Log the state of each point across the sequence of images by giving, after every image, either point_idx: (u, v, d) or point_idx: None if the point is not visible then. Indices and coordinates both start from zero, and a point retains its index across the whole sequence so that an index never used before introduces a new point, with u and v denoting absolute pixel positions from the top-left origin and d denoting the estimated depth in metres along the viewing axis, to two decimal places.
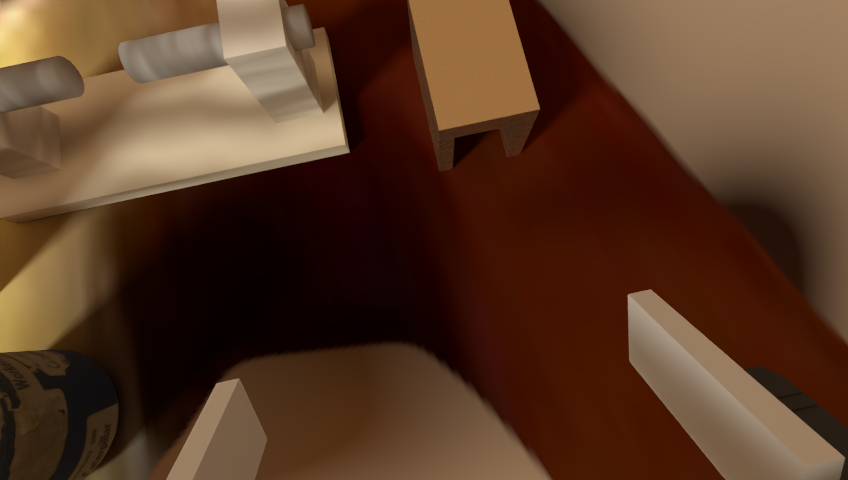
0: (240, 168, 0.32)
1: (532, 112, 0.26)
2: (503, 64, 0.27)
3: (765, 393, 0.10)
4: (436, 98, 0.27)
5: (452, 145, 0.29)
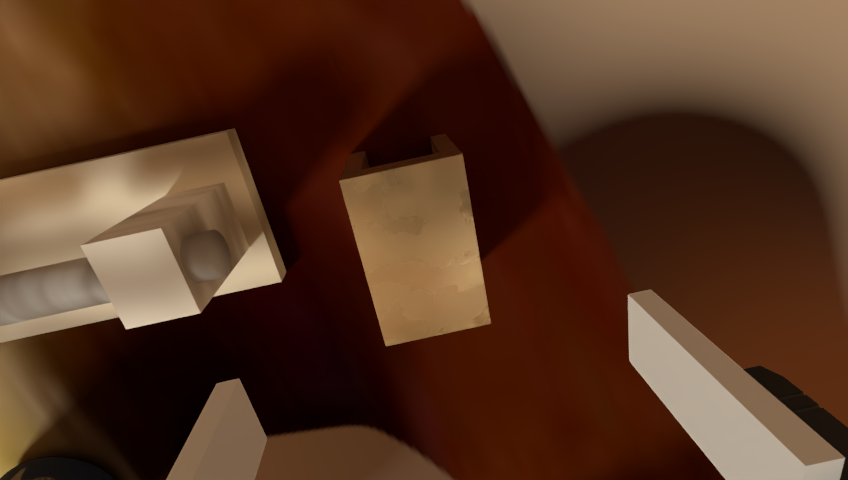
0: None
1: (482, 323, 0.25)
2: (456, 277, 0.24)
3: (765, 393, 0.10)
4: (382, 314, 0.24)
5: None
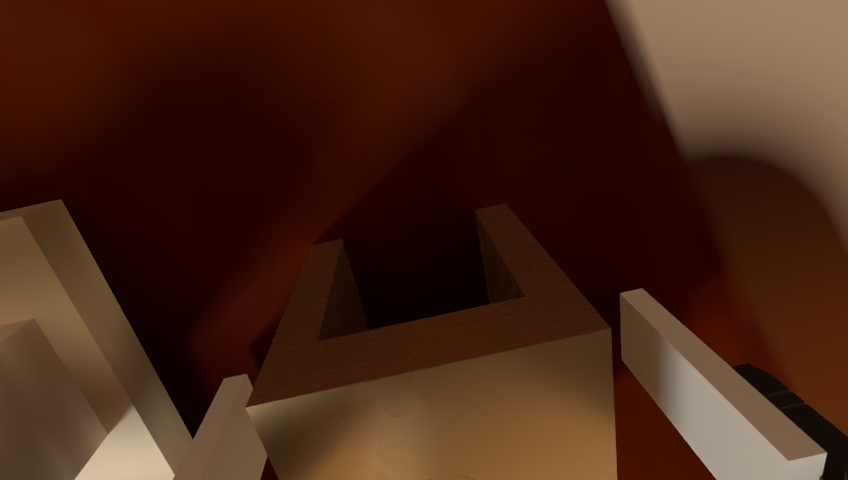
0: None
1: None
2: None
3: (751, 390, 0.10)
4: None
5: None
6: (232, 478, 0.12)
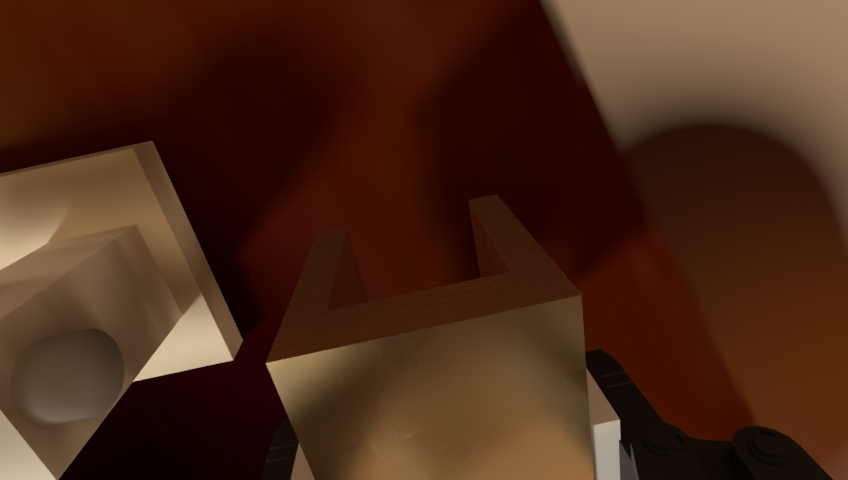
0: None
1: None
2: None
3: (586, 370, 0.12)
4: None
5: None
6: None
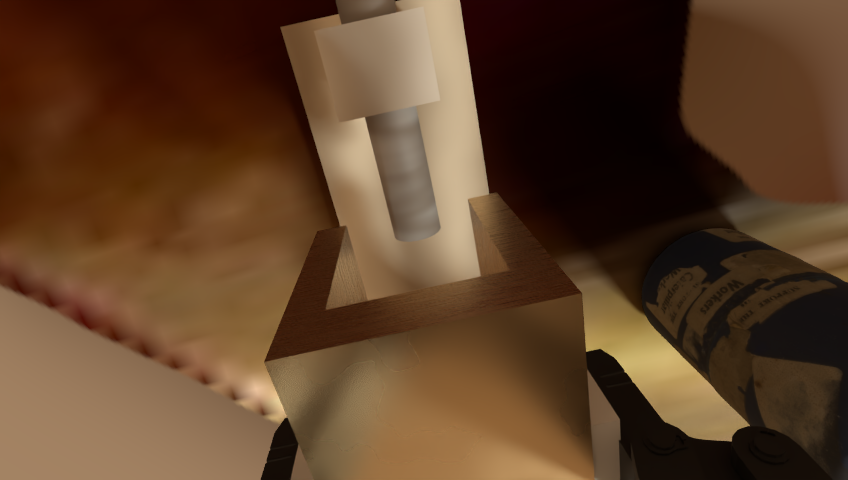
0: None
1: None
2: None
3: None
4: None
5: None
6: None
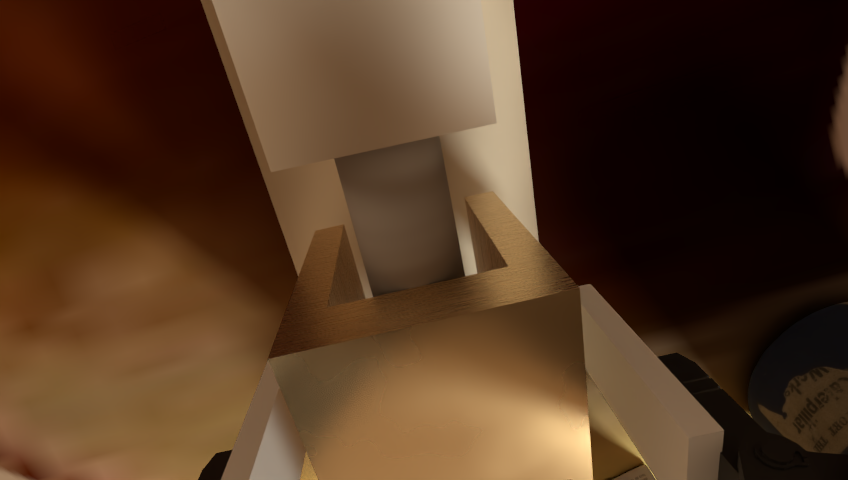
0: None
1: None
2: None
3: (671, 376, 0.11)
4: None
5: None
6: (286, 442, 0.13)
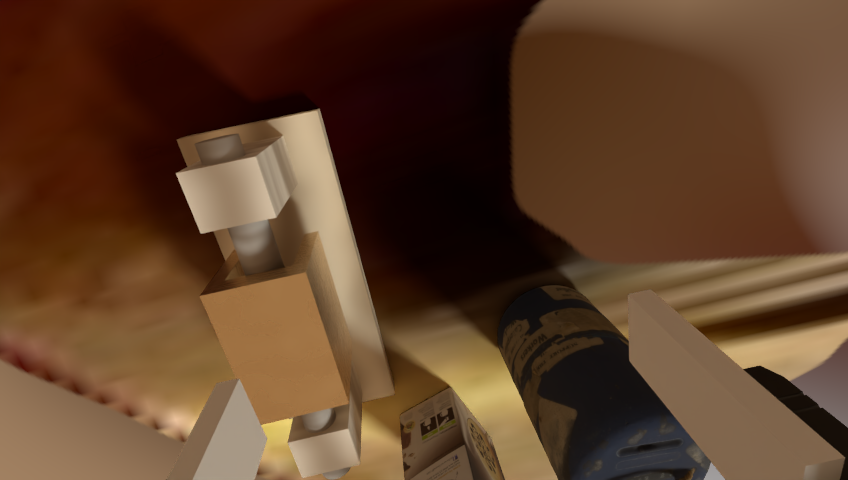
0: (346, 214, 0.34)
1: (342, 403, 0.29)
2: (313, 368, 0.28)
3: (764, 393, 0.10)
4: (250, 400, 0.28)
5: None
6: None
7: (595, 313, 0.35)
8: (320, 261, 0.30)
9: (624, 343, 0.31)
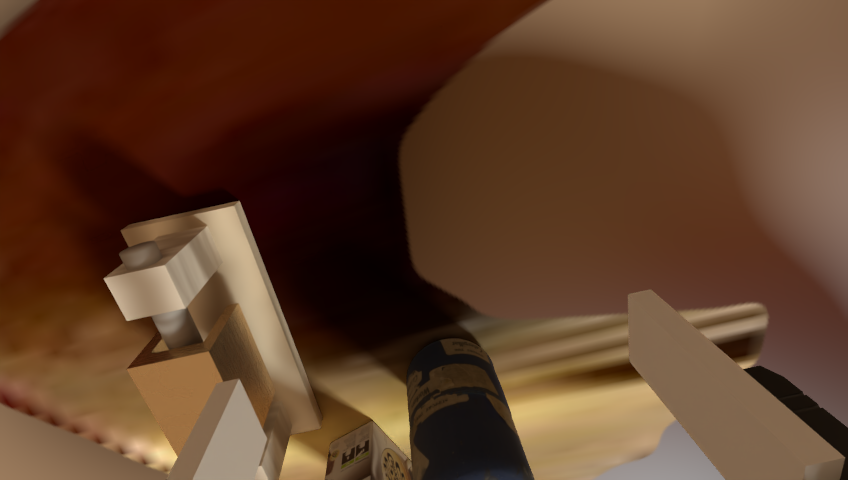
0: (266, 284, 0.41)
1: None
2: None
3: (765, 393, 0.10)
4: (175, 445, 0.35)
5: None
6: None
7: (476, 368, 0.41)
8: (235, 331, 0.37)
9: (488, 399, 0.38)
